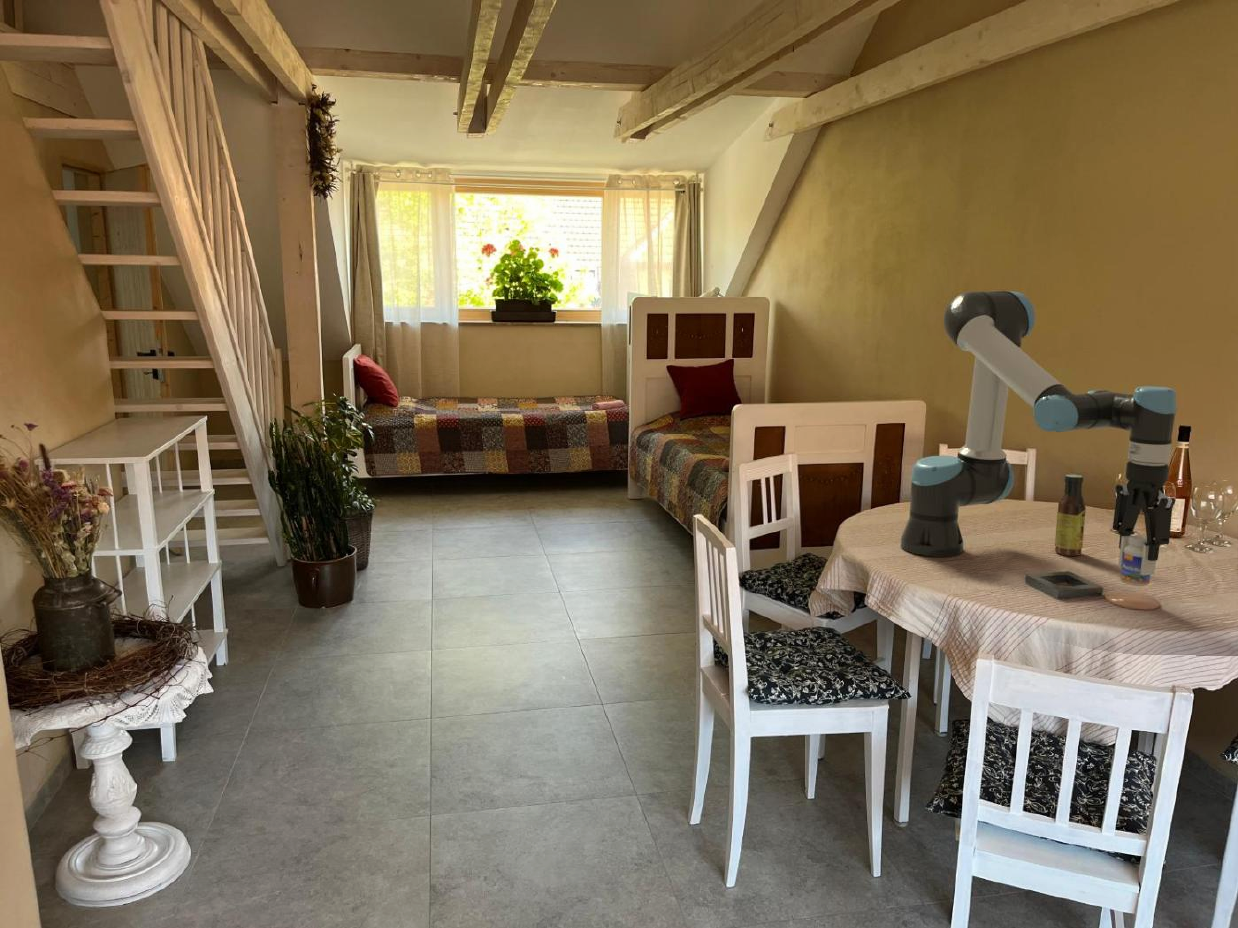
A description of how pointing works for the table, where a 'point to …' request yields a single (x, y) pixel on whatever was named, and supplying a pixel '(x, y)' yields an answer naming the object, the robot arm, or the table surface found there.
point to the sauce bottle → (1070, 518)
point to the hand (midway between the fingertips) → (1136, 569)
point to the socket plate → (1076, 590)
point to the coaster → (1132, 600)
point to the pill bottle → (1134, 562)
